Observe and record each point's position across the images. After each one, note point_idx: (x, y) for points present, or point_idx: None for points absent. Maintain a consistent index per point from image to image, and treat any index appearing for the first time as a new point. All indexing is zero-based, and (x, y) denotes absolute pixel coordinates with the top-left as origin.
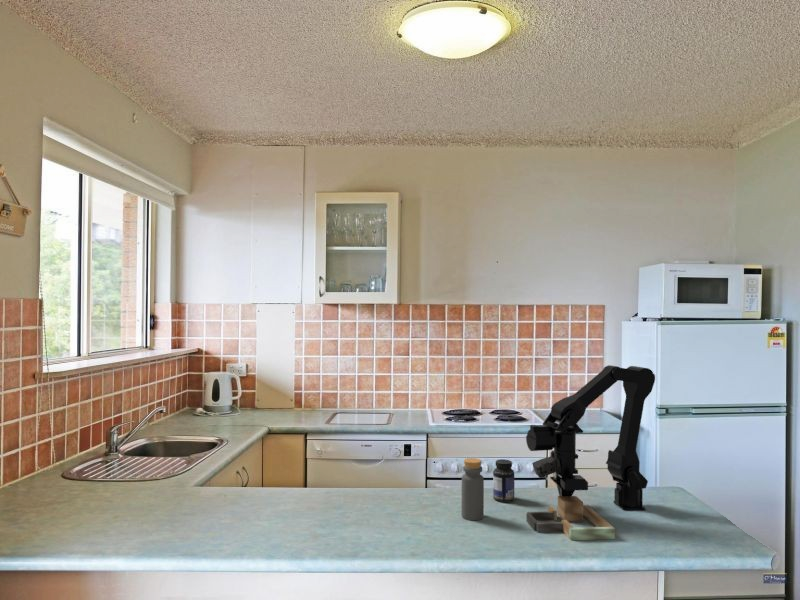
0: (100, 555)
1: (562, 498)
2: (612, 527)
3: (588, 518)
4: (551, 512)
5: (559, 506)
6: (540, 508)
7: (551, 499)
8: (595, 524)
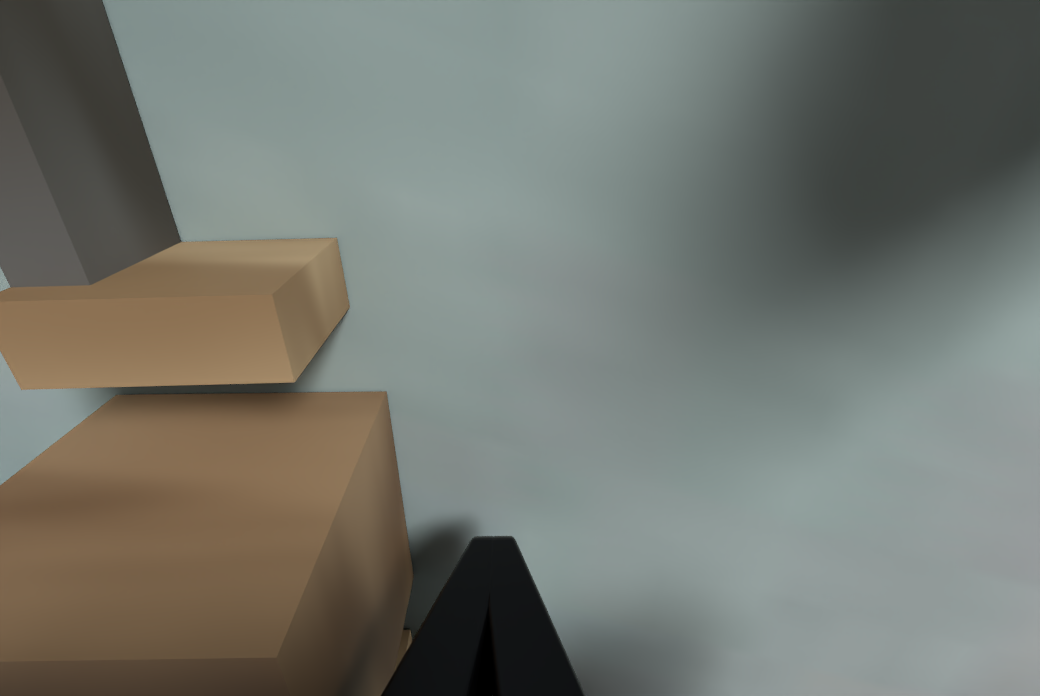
0: None
1: (110, 693)
2: None
3: None
4: (12, 271)
5: (259, 492)
6: (678, 215)
7: (985, 479)
8: None
